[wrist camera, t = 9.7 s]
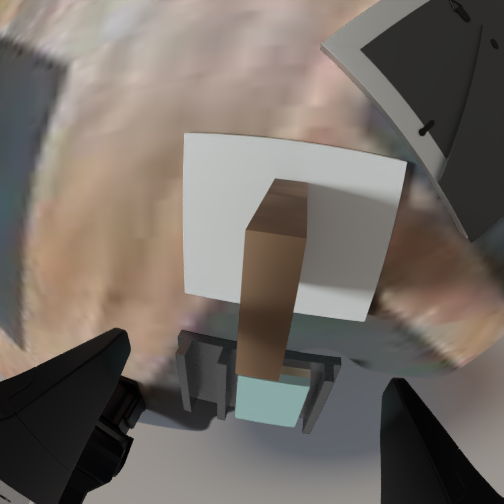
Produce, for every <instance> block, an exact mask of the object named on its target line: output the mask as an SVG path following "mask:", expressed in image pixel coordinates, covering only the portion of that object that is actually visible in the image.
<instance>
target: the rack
mask: <svg viewBox="0 0 504 504" xmlns="http://www.w3.org/2000/svg"><path fill="white" fill-rule="evenodd" d="M178 345H179V348H178V350H177V352H176V360H177V368H178V374H179V381H180V388H181V394H182V400H183V406H184V410H185V411H189V412H192V410H193V407H194V405H195V402H196V400H197V398H198V399H202V400H206V401H210V402H214V403H217V419H221V420H225V418H226V415H227V412H228V409H229V406H232V407H236V395H237V382H238V374H235V371H236V355H237V342H235V341H230V340H225V339H220V338H215V337H210V336H206V335H201V334H197V333H192V332H188V331H184V330H181V332H180V334H179V335H178ZM282 366H287V367H293V368H301V369H308V370H311V375H310V388H309V391H308V393H307V396H306V399H305V402H304V404H303V407H302V409H301V412H300V415H299V418H304V419H303V430H302V433H306V434H310V432H311V430H312V428H313V426H314V424H315V422H316V420H317V419H318V417H319V415H320V413H321V411H322V408H323V406H324V404H325V402H326V400H327V398H328V395H329V393H330V391H331V389H332V386H333V384H334V382H335V379H336V377H337V375H338V372H339V370H340V367H341V358H340V357H332V356H323V355H315V354H308V353H301V352H294V351H287V350H285V355H284V360H283V364H282Z"/></svg>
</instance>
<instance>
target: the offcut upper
mask: <svg viewBox="0 0 504 504" xmlns="http://www.w3.org/2000/svg"><path fill="white" fill-rule="evenodd" d="M309 388H310V378H305V377H297V376H290V375H283V374H280V377H279V381H273V380H267V379H261V378H255V377H250V376H244V375H239V374H238V382H237V395H236V409H235V418H239V419H244V420H249V421H254V422H261V423H266V424H273V425H279V426H286V427H295V425H296V422H297V420H298V417H299V415H300V412H301V409H302V407H303V404H304V402H305V399H306V396H307V393H308V391H309Z"/></svg>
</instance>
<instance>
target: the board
mask: <svg viewBox="0 0 504 504" xmlns="http://www.w3.org/2000/svg"><path fill="white" fill-rule="evenodd" d="M406 165H407V162H406V161H403V160H400V159H396V158H392V157H387V156H383V155H378V154H373V153H369V152H364V151H359V150H353V149H348V148H342V147H337V146H331V145H324V144H318V143H311V142H304V141H297V140H289V139H280V138H271V137H261V136H250V135H237V134H221V133H199V132H188V133H185V134H184V162H183V252H184V281H185V293H188V294H193V295H198V296H203V297H208V298H213V299H219V300H224V301H230V302H235V303H240V296H241V282H242V268H243V254H244V241H245V229H246V228H247V226H248V224H249V222H250V221H251V219H252V217H253V215H254V214H255V212H256V210H257V209H258V207H259V205H260V203H261V202H262V200H263V198H264V196H265V195H266V193H267V191H268V189H269V188H270V186H271V184H272V183H273V181H274V179H275V178H277V179H285V180H292V181H299V182H306V183H308V198H307V240H306V246H305V252H304V258H303V264H302V269H301V275H300V280H299V286H298V291H297V296H296V302H295V307H294V312H296V313H302V314H309V315H316V316H324V317H331V318H338V319H346V320H354V321H363V322H364V321H365V318H366V316H367V313H368V310H369V307H370V304H371V301H372V298H373V295H374V292H375V289H376V286H377V283H378V280H379V277H380V273H381V270H382V267H383V263H384V260H385V256H386V253H387V249H388V246H389V242H390V238H391V234H392V230H393V226H394V222H395V218H396V214H397V210H398V205H399V201H400V196H401V191H402V186H403V181H404V176H405V171H406Z"/></svg>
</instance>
